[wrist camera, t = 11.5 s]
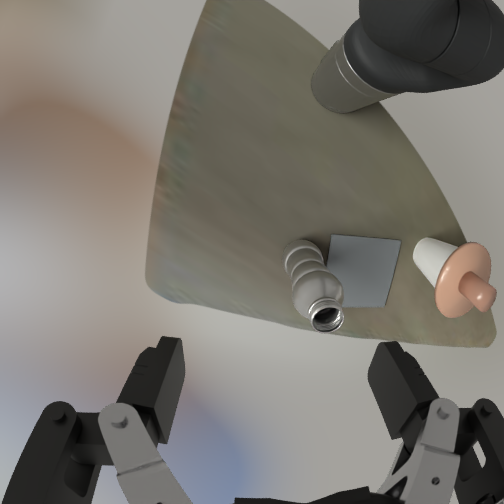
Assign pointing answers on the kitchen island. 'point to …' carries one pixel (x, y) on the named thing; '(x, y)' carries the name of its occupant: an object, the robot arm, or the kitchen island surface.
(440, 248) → the foam cup
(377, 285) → the mat
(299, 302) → the plastic bottle
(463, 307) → the lid
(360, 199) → the kitchen island surface
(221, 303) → the kitchen island surface
